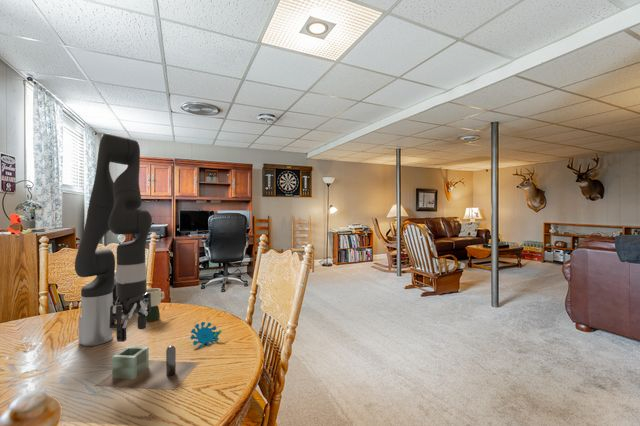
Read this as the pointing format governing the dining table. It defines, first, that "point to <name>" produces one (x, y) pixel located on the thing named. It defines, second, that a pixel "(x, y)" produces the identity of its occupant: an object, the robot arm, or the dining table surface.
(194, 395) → the dining table surface
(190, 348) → the dining table surface
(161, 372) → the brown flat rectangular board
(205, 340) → the gear
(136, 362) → the pale green open box
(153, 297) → the character mug
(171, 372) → the metal post
